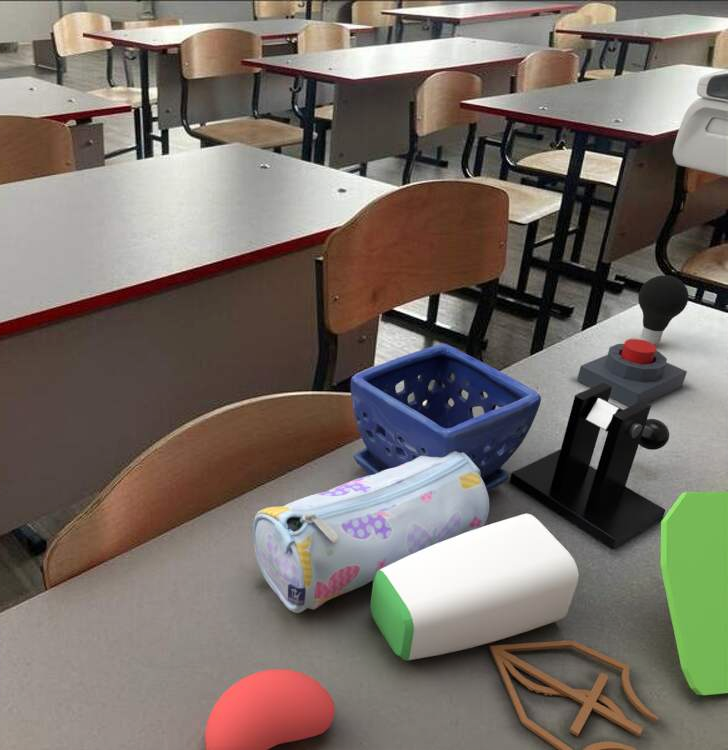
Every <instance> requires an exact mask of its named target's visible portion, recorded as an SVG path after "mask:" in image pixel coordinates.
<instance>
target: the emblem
mask: <svg viewBox="0 0 728 750" xmlns="http://www.w3.org/2000/svg"><path fill="white" fill-rule="evenodd" d="M563 648H565V649H566V648H571V649H573V650H576V651H578V652H580V653H582V654H585V655H587V656H589V657H590V658H593V659H595V660H597V661H599V662H602V663H603V664H606V665H608V666H611V667H612V668H615V669H616V670H619V671H621V677H620V679H621V685H622V688H623V691H624V693H625V695H626V697H627V698H628V700H629V701H630V703H631V704H632V705H633V706H634V708H636V710H638V711H639V712H640V713H641V714H643V716H645V717H646V718H648V719H649V720H652V721H653V722H656V723H657V722H658V720H659V717H658V716H657V715H656V714H654V713H653V712H652V711H651V710H649V709H648V708H647V707H646V706H645V705H644V704H643V703H642V702H641V700H640V698H638V696H637V695H636V693H635V691H634V690H633V688H632V685H631V682H630V668H631V666H630V665H628V664H625V663H623V662H621V661H618V660H617V659H614V658H612V657H610V656H608V655H606V654H604V653H601V652H600V651H597V650H595V649H593V648H590V647H588V646H586V645H584V644H582V643H580V642H577V641H575V640H573V639H568V640H555V641H541V642H528V643H527V642H526V643H525V642H524V643H511V644H498V645H490V646H489V651H490V653H491V655H492V658H493V660H494V662H495V664H496V667H497V670H498V671H499V674H500V676H501V678H502V681H503V683H504V686H505V688H506V690H507V693H508V695H509V697H510V700H511V702H512V704H513V707H514V709H515V712H516V713H517V715H518V719H519V720H520V723H521V725H522V726H523V727H525V728H527V729H528V730H529V731H531V732H532V733H534V734H535V735H537V736H538V737H540V738H541V739H543V740H544V741H545V742H547V743H548V744H550V746H551V745H552V747H554V748H556V749H557V750H574V748H571V747H570V746H569V745H567V744H566V743H564V742H563V741H561V740H560V739H558V738H557V737H556V736H555V735H553V734H551V733H550V732H549V731H547V730H545V729H544V728H543V727H541V726H540V725H538V724H537V723H535V722H534V721H532V720H531V719H529V718H528V717H527V714H526V712H525V710H524V707H523V705H522V703H521V701H520V699H519V696H518V694H517V692H516V690H515V687H514V684H513V682H512V680H511V678H510V675H512V677H514V678H515V679H516V680H517V681H518V682H519V683H520V684H521V685H523V686H525V688H527V689H528V690H529V691H531V692H532V691H534V692H536V693H537V694H543V695H544V696H550V697H552V696H561V697H563V698H565V697H567V698H570V699H572V700H574V701H575V702H577V703H579V704H580V705H582V706H581V708H580V709H579V712H578V714H577V715H576V717H575V719H574V721H573V722H572V725H571V726H570V728H569V733H571V734H573V735H574V736H576V737H578V736H580V733H581V731H582V729H583V727H584V726H585V724H586V722H587V720H588V718H589V716H590V714H591V712H592V711H593V712H594V713H596V714H598V715H600V716H603V717H604V718H606V719H607V720H609V721H610V722H612V723H614V724H617V725H618V726H619V727H621V728H623V729H625V730H626V731H628V732H630V733H631V734H634V735H635V736H637V737H640V736H641V734H642V732H643V729H644V727H642V726H640V725H639V724H637V723H635V722H634V721H632V720H629V719H628V718H627V717H626V716H625V714H624V713H623V711H622V709H621V708H620V707H618V705H617V704H616V703H615V702H614V701H613V700H612V699H611V698H609V697H607V696H605V695H604V694H602V692H603V689H604V688H605V687H606V684H607V683H608V680H609V679H610V677H609V676H608V675H607V674H605V673H603V672H600V673H599V675H598V677H597V679H596V680H595V682H594V684H593V686H592V688H591V690H588V689H579V688H572V687H570V686H569V685H567V684H565V683H563V682H562V681H560V680H557V679H556V678H554V677H552V676H551V675H549V674H547V673H546V672H544V671H542V670H540V669H538V668H536V667H535V666H533V665H531V664H529V663H527V662H525V661H524V660H522V659H520V658H519V657H518V656H515V655H513V654H512V653H510V652H524V651H536V650H537V651H538V650H550V649H563ZM515 667H516V668H517V669H519V670H521V671H522V672H525V673H526V674H528V675H529V676H531V677H533V678H535V679H537V680H538V681H540V682H542V683H543V684H546V686H543V685H540V684H538V683H534V682H533V681H531V680H530V679H528V678H526V677H525V676H523V675H522V673H520V672H519V671H518V670H517V669H516V668H515ZM507 671H508V672H509V673H510V675H509V673H508V672H507ZM548 686H549V687H548ZM597 701H598V702H597ZM602 704H603V705H602ZM582 750H638V749H637V748H635V747H633V746H630V745H629V744H625V743H622V742H615V741H599V742H593V743H592V744H589V745H587V746H586V747H584V748H583V749H582Z"/></svg>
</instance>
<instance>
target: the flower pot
mask: <svg viewBox="0 0 728 750" xmlns="http://www.w3.org/2000/svg"><path fill="white" fill-rule="evenodd" d="M452 374H453V376H454V380H453V379H452ZM432 381H433V385H432V388H431V389H429V386H430V384H431V382H432ZM402 382H403V388H402V390H400V391H398V392H397V390H396V389H397V388H396V387H397V385H398V384H400V383H402ZM463 391H465V392H466V393H467V394H468V395H467V398H465V397H464V396H463ZM484 393H485V394H486V395H487V396H486V397H485V395H484ZM412 394H413V397H414V399H413V400H411V401H409V396H410V395H412ZM350 396H351V406H352V411H353V416H354V419H355V423H356V427H357V429H358V432H359V434H360V437H361V439H362V442H363V444H364V445H365V448H362V449H361V450H358V451H357V452H355V453H354V454H353V459H354V460H355V462H356V464H358V466H359V467H360V468H361V469H362V470H363V471H364V472H366V473H367V474H368V476H369V475H374V474H377V473H379V472H381V471H384V470H386V469H390V468H394V467H398V466H400V465H402V464H404V463H407V462H410V461H413V460H414V459H416V458H418V457H419V456H428V457H440V458H442V457H445V456H447V455H448V454H450V453H451V452H454V451H456V452H460V453H462V452H463V453H465V454H466V455H467V456H468V457H469V458H470V459H471V460H472V462H473V463H474V464H475V465H476V466H477V467H478V469H479V470H480V473H481V475H480V477H481V478H482V480H483V482H484V484H485V487H486V490H487V493H488V492H490V491H492V490H494V489H495V488H498V487H499V486H501V485H502V484H504V483H505V482H506V481H507V480H508V479H510V477H511V473H510V472H509V471H507V469H505V468H504V467H503V466H504V465H505V464H506V463H507V462H508V461H509V460H510V459H511V457H512V456H513V455H514V454H515V452H517V450H518V449H519V447H520V446H521V445H522V443H523V442H524V440H525V438H526V437H527V435H528V433H529V431H530V429H531V428H532V426H533V423H534V421H535V419H536V416H537V413H538V411H539V408H540V405H541V400H542V397H541V395H540V394H539V393H538V392H537V391H535V390H534V389H532V388H531V387H529V386H527V385H526V384H524V383H522V382H520V381H518V380H517V379H516V378H513V377H512V376H509V375H508V374H506V373H504V372H502V371H501V370H498V369H497V368H494V367H492V366H491V365H489V364H487V363H485V362H483V361H481V360H479V359H477V358H475V357H473V356H472V355H470V354H467V353H464V352H463V351H461V350H460V349H458V348H455V347H453V346H451V345H450V344H448V343H447V344H446V343H439V344H435V345H433V346H430V347H426V348H423V349H419V350H417V351H414V352H411V353H408V354H404V355H401V356H399V357H396V358H394V359H391V360H389V361H386V362H383V363H381V364H378V365H375V366H372V367H370V368H368V369H365V370H363V371H361V372H359V373H356V374H354V375H353V376H352V377H351V379H350ZM425 400H426V402H425ZM450 400H452V401H453V405H452V406H451V404H450V403H449V401H450ZM424 402H425V404H424ZM475 407H480V408H482V411H483V413H482V414H479V415H478V416H474V412H473V408H475ZM497 407H498V408H497Z"/></svg>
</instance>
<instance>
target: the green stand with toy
mask: <svg viewBox="0 0 728 750" xmlns="http://www.w3.org/2000/svg"><path fill="white" fill-rule="evenodd" d="M659 566H660V571H661V575H662V580H663V585H664V591H665V595H666V600H667V605H668V609H669V610H668V611H669V615H670V620H671V624H672V629H673V633H674V638H675V643H676V648H677V654H678V657H679V663H680V668H681V670H682V673H683V675H684V677H685V679H686V682H687V684H688V687H689V688H690V689H691V691H693V692H694V693H695V694H696V695H698V696H710V695H721V694H728V491H727V490H726V491H686V492H682V493H681V494H679V496H678V498H677V499H676V501H675V502H674V504H673V505H672V506H671V508H670V509H669V510H668V512H667V513H666V514H665V515H664V516H663V519H662V520H660V565H659Z"/></svg>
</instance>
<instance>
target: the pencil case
mask: <svg viewBox="0 0 728 750" xmlns="http://www.w3.org/2000/svg"><path fill="white" fill-rule="evenodd" d="M480 475H481V473H480V470H479V469H478V467H477V466H476V465H475V464H474V463H473V462H472V460H471V459H470V458H469V457H468V456H467V455H466V454H465V453H463V452H462V453H460V452H456V451H454V452H451V453H450V454H448V455H447V456H445V457H442V458H440V457H428V456H419V457H418V458H416V459H414V460H413V461H410V462H407V463H404V464H402V465H400V466H398V467H394V468H390V469H386V470H384V471H381V472H379V473H377V474H374V475H369V474H368V475H365V476H362V477H358V478H356V479H353V480H350V481H348V482H345V483H343V484H341V485H338V486H335V487H333V488H331V489H329V490H327V491H323V492H319V493H318V492H317V493H314V494H311V495H307V496H305V497H302V498H298V499H296V500H294V501H292V502H289V503H286V504H285V505H283V506H270V507H265V508H262V509H261V510H258V511H257V512H256V513H255V515H254V520H253V524H252V537H253V544H254V552H255V553H254V554H255V557H256V560H257V563H258V566H259V569H260V572H261V574H262V576H263V578H264V579H265V581H266V582H267V584H268V585H269V586H270V588H271V590H272V591H273V592H274V593H275V594H276V596H277V597H278V599H279V600H280V601H281V603H282V604H283V605H284V606H285V607H286V608H287V609H288V610H289V611H290V612H293V613H295V614H299V613H300V614H301V613H302V612H304V611H306V610H307V609H310V610H316V609H317V608H319V607H320V606H322V605H323V604H325V603H326V602H328V601H329V600H332V599H335V598H336V597H338V596H342V595H344V594H346V593H349V592H352V591H354V590H356V589H358V588H361V587H363V586H365V585H367V584H369V583H371V582H373V581H374V579H375V576H376V573H377V571H378V570H380V569H382V568H384V567H386V566H388V565H390V564H392V563H394V562H396V561H398V560H400V559H403V558H405V557H407V556H409V555H411V554H414V553H416V552H418V551H420V550H423V549H425V548H427V547H429V546H432V545H434V544H437V543H439V542H442V541H445V540H447V539H450V538H453V537H455V536H458V535H460V534H463V533H466V532H469V531H472V530H475V529H478V528H481V527H484V526H485V524H486V523H487V520H488V516H489V513H490V497H489V493H488V492H487V490H486V487H485V484H484V482H483V480H482V478H481V477H480Z"/></svg>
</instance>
